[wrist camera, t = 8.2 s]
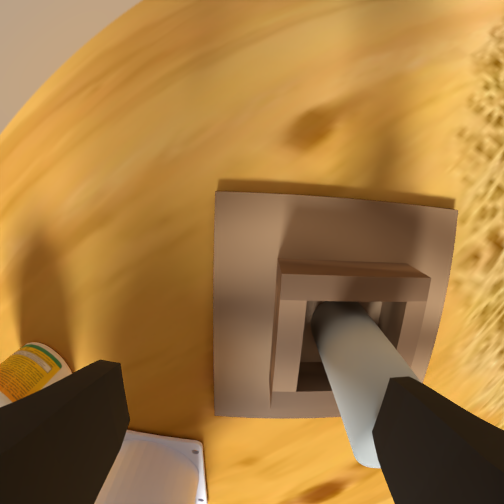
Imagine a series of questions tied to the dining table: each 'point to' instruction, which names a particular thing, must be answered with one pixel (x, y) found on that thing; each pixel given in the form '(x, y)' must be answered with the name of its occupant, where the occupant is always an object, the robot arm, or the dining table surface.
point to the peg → (356, 369)
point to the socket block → (317, 291)
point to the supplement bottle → (30, 371)
